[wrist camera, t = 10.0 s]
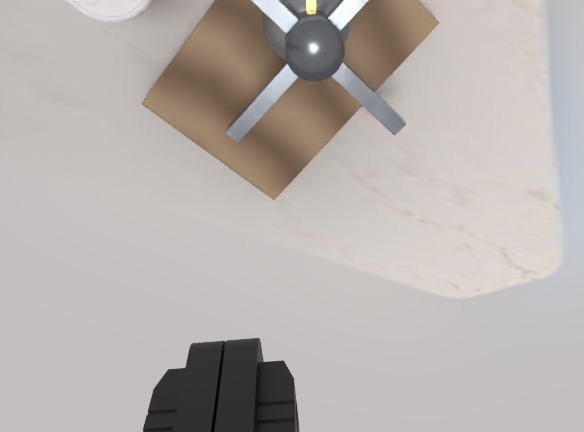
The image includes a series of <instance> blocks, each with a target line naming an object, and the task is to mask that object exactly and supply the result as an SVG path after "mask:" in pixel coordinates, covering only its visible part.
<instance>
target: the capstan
mask: <svg viewBox="0 0 584 432" xmlns="http://www.w3.org/2000/svg"><path fill="white" fill-rule="evenodd" d="M252 1H253V2H254V3H255V4H256V5H257V6H258V7H259V8H260V9H261V10H262V11H263V12H264V31H265V35H266V38H267V40H268V42H269V44H270V46H271V48H272V49H273V50H274V52H275V53H276V54H277V55H278V56H280V57H281V58H282V59H284V60H285V61H286V62H285V63H284V64H283V65H282V66H281V67H280V68H279V69H278V71H277V72H276V73H275V74H274V75H273V76H272V77H271V78H270V80H269V81H268V82H267V83H266V84H265V85H264V86H263V87H262V89H261V90H260V91H259V92H258V93H257V94H256V95H255V96H254V98H253V99H252V100H251V101H250V102H249V103H248V104H247V105H246V107H245V108H244V109H243V110H242V111H241V112H240V113H239V114H238V116H237V117H236V118H235V119H234V120H233V121H232V122H231V123H230V125H229V126H228V127H227V129H226V134H227V135H228V136H229V137H231V138H232V139H233V140H234V141H236V142H237V143H238V142H239V141H240V140H241V139H242V138H243V137H244V136H245V135H246V134H247V133H248V131H249V130H250V129H251V128H252V127H253V126H254V125H255V124H256V123H257V122H258V121H259V119H260V118H261V117H262V116H263V115H264V114H265V113H266V112H267V111H268V110H269V108H270V107H271V106H272V105H273V104H274V103H275V102H276V101H277V100H278V99H279V98H280V96H281V95H282V94H283V93H284V92H285V91H286V90H287V89H288V88H289V87H290V86H291V84H292V83H293V82H294V81H295V80H296V79H297V78H298V77H300V78H301V79H304V80H307V81H315V82H316V81H322V80H325V79H327V78H329V77H331V76H332V77H333V78H334V79H335V80H336V81H337V82H338V83H339V84H340V85H341V86H343V87H344V88H345V89H346V90H347V91H348V92H349V93H350V94H351V95H352V96H353V97H354V98H355V99H356V100H357V101H358V102H359V103H361V104H362V105H363V106H364V107H365V108H366V109H367V110H368V111H369V112H370V113H371V114H372V115H373V116H374V117H375V118H376V119H377V120H379V121H380V122H381V123H382V124H383V125H384V126H385V127H386V128H387V129H388V130H389V131H390V132H391V133H392V134H393V135H395V134H396V133H397V132H398V131H400V130H401V129H402V128H403V127H404V126H405V125H406V123H405V121H404V120H403V118H402V117H401V116H400V115H399V114H398V113H396V112H395V111H394V110H393V109H392V108H391V107H390V106H389V105H388V104H387V103H386V102H385V101H384V100H383V99H382V98H381V97H380V96H379V95H378V94H377V93H376V92H375V91H374V90H373V89H372V88H371V87H370V86H369V85H368V84H367V83H366V82H365V81H364V80H362V79H361V78H360V77H359V76H358V75H357V74H356V73H355V72H354V71H353V70H352V69H351V68H350V67H349V66H348V65H347V64H346V63H345V62H344V61H343V59H344V55H345V45H344V44H345V42H346V40H347V37H348V34H349V31H350V25H351V19H352V18H353V17H354V16H355V14H356V13H357V12H358V11H359V10H360V9H361V8H362V7H363V6H364V5H365V3H366V2H367V1H368V0H252Z"/></svg>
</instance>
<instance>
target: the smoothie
mask: <svg viewBox="0 0 584 432" xmlns="http://www.w3.org/2000/svg"><path fill="white" fill-rule="evenodd" d="M66 1H67V2H68V3H69V4H70V5H71V6H72V7H74V8H75V9H76V10H77V11H79V12H80V13H82V14H84V15H85V16H87V17H89V18H92V19H95V20H98V21H102V22H121V21H125V20H128V19H131V18H133V17H135V16H137V15H139V14H141V13H142V12H143V11H144V10H145V9H146V8H147V7H148V6H149V5H150V4H151V2H152V1H153V0H66Z"/></svg>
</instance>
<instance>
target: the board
mask: <svg viewBox="0 0 584 432" xmlns="http://www.w3.org/2000/svg"><path fill="white" fill-rule="evenodd" d="M438 24H439V22H438V21H437V19H436V18H435V17H434V16H433V15H432V14H431V13H430V12H429V11H428V10H427V9H426V8H425V7H424V6H423V5H422V4H421V3H420V2H419V1H418V0H368V1H367V2H366V3H365V5H364V6H363V7H362V8H361V9H360V10H359V11H358V12H357V13H356V14H355V16H354V17H353V18H352V19H351V25H350V31H349V34H348V37H347V40H346V42H345V44H344V45H345V55H344V59H343V61H344V62H345V63H346V64H347V65H348V66H349V67H350V68H351V69H352V70H353V71H354V72H355V73H356V74H357V75H358V76H359V77H360V78H361V79H362V80H364V81H365V82H366V83H367V84H368V85H369V86H370V87H371V88H372V89H373V90H374V91H376V90H377V89H378V88H379V87H380V86H381V85H382V84H383V83H384V82H385V81H386V79H387V78H388V77H389V76H390V75H391V74H392V73H393V72H394V71H395V70H396V69H397V68H398V67H399V66H400V64H401V63H402V62H403V61H404V60H405V59H406V58H407V57H408V56H409V55H410V54H411V53H412V52H413V51H414V49H415V48H416V47H417V46H418V45H419V44H420V43H421V42H422V41H423V40H424V39H425V38H426V37H427V36H428V34H429V33H430V32H431V31H432V30H433V29H434V28H435V27H436V26H437V25H438ZM285 62H286V61H285V60H284V59H282V58H281V57H280V56H278V55H277V54H276V53H275V52H274V50H273V49H272V48H271V46H270V44H269V42H268V40H267V38H266V35H265V31H264V12H263V11H262V10H261V9H260V8H259V7H258V6H257V5H256V4H255V3H254V2H253V1H252V0H215V2H214V3H213V5H212V6H211V7H210V9H209V10H208V12H207V13H206V14H205V16H204V17H203V19H202V20H201V21H200V23H199V24H198V25H197V27H196V28H195V30H194V31H193V32H192V34H191V35H190V37H189V38H188V39H187V41H186V42H185V44H184V45H183V46H182V48H181V49H180V51H179V52H178V53H177V55H176V56H175V57H174V59H173V60H172V62H171V63H170V64H169V66H168V67H167V69H166V70H165V71H164V73H163V74H162V76H161V77H160V78H159V80H158V81H157V83H156V84H155V85H154V87H153V88H152V89H151V91H150V92H149V94H148V95H147V96H146V98H145V99H144V101H143V102H142V103H141V104H142V105H144V106H145V107H146V108H148V109H149V110H151V111H152V112H153V113H155V114H156V115H157V116H159V117H160V118H162V119H163V120H164V121H166V122H167V123H168V124H170V125H171V126H173V127H174V128H175V129H177V130H178V131H179V132H181V133H182V134H184V135H185V136H186V137H188V138H189V139H190V140H192V141H193V142H195V143H196V144H197V145H199V146H200V147H202V148H203V149H204V150H206V151H207V152H208V153H210V154H211V155H213V156H214V157H215V158H217V159H218V160H219V161H221V162H222V163H224V164H225V165H226V166H228V167H229V168H230V169H232V170H233V171H235V172H236V173H237V174H239V175H240V176H241V177H243V178H244V179H246V180H247V181H248V182H250V183H251V184H252V185H254V186H255V187H257V188H258V189H259V190H261V191H262V192H264V193H265V194H266V195H268V196H269V197H270V198H272V199H273V200H275V198H276V197H277V196H278V195H279V194H280V193H281V192H282V191H283V190H284V189H285V188H286V187H287V186H288V185H289V183H290V182H291V181H292V180H293V179H294V178H295V177H296V176H297V175H298V174H299V173H300V172H301V171H302V170H303V168H304V167H305V166H306V165H307V164H308V163H309V162H310V161H311V160H312V159H313V158H314V157H315V156H316V155H317V153H318V152H319V151H320V150H321V149H322V148H323V147H324V146H325V145H326V144H327V143H328V142H329V141H330V140H331V138H332V137H333V136H334V135H335V134H336V133H337V132H338V131H339V130H340V129H341V128H342V127H343V126H344V124H345V123H346V122H347V121H348V120H349V119H350V118H351V117H352V116H353V115H354V114H355V113H356V112H357V111H358V109H359V108H360V107H361V106H362V104H361V103H359V102H358V101H357V100H356V99H355V98H354V97H353V96H352V95H351V94H350V93H349V92H348V91H347V90H346V89H345V88H344V87H343V86H341V85H340V84H339V83H338V82H337V81H336V80H335V79H334V78H333V77H332V76H331V77H329V78H327V79H325V80H322V81H316V82H315V81H307V80H304V79H301V78H300V77H298V78H297V79H296V80H295V81H294V82H293V83H292V84H291V86H290V87H289V88H288V89H287V90H286V91H285V92H284V93H283V94H282V95H281V96H280V98H279V99H278V100H277V101H276V102H275V103H274V104H273V105H272V106H271V107H270V108H269V110H268V111H267V112H266V113H265V114H264V115H263V116H262V117H261V118H260V119H259V121H258V122H257V123H256V124H255V125H254V126H253V127H252V128H251V129H250V130H249V131H248V133H247V134H246V135H245V136H244V137H243V138H242V139H241V140H240V141H239V142H238V143H237V142H236V141H234V140H233V139H232V138H231V137H229V136H228V135H227V134H226V129H227V127H228V126H229V125H230V123H231V122H232V121H233V120H234V119H235V118H236V117H237V116H238V114H239V113H240V112H241V111H242V110H243V109H244V108H245V107H246V105H247V104H248V103H249V102H250V101H251V100H252V99H253V98H254V96H255V95H256V94H257V93H258V92H259V91H260V90H261V89H262V87H263V86H264V85H265V84H266V83H267V82H268V81H269V80H270V78H271V77H272V76H273V75H274V74H275V73H276V72H277V71H278V69H279V68H280V67H281V66H282V65H283V64H284V63H285Z"/></svg>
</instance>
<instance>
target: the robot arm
mask: <svg viewBox="0 0 584 432" xmlns="http://www.w3.org/2000/svg"><path fill="white" fill-rule="evenodd" d="M143 432H299V421H298V413H297V403H296V394H295V385H294V378H293V376H292V374H291V373H290V371H289V369H288V367H287V366H286V364H285V362H284V361H272V362H264V361H263V355H262V349H261V342H260V339H259V338H253V339H240V340H228V341H226V342H225V341H217V342H203V343H192V344H191V346H190V349H189V354H188V359H187V364H186V368H181V369H170V370H169V369H168V371H167V372H166V373H165V375H164V376H163V377H162V379H161V380H160V381H159V383H158V384H157V386H156V387H155V388H154V390H153V394H152V398H151V402H150V405H149V409H148V415H147V417H146V420H145V424H144V428H143Z"/></svg>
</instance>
